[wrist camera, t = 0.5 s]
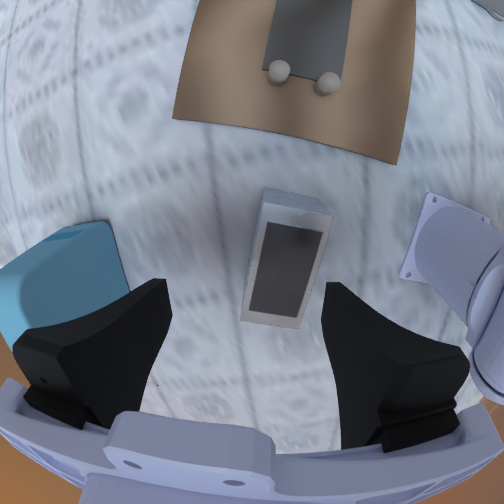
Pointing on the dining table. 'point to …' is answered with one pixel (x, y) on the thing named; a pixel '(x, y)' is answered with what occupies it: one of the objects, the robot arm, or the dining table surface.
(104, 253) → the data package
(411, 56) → the pin tray
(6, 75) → the dining table surface
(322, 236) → the block
